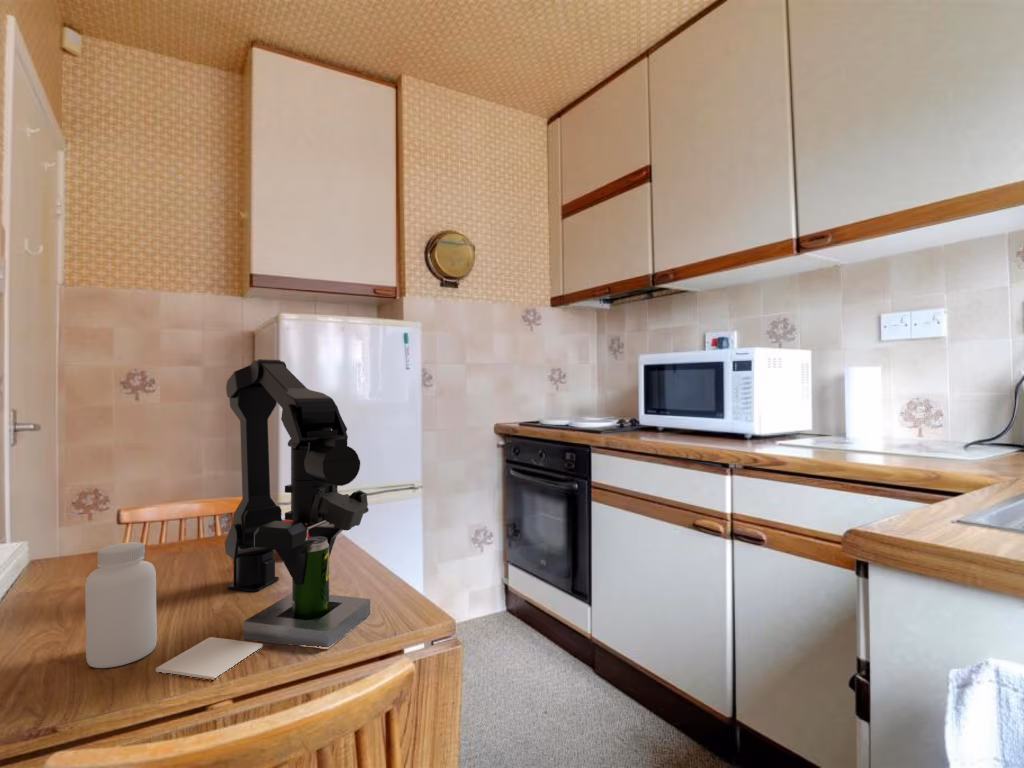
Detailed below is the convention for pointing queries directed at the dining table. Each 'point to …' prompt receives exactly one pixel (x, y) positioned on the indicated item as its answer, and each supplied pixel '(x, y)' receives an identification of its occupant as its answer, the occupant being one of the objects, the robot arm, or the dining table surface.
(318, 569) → the green silver-topped cylinder
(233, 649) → the tile
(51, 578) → the dining table surface
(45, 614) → the dining table surface
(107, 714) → the dining table surface
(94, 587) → the pill bottle
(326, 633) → the frame
